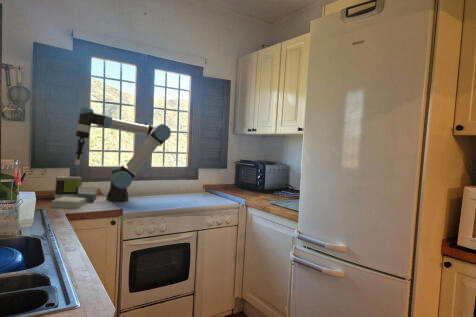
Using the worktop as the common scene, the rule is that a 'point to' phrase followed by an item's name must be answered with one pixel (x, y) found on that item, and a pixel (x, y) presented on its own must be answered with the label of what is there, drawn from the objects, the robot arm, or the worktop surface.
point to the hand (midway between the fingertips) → (77, 163)
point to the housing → (87, 192)
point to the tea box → (67, 186)
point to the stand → (69, 202)
